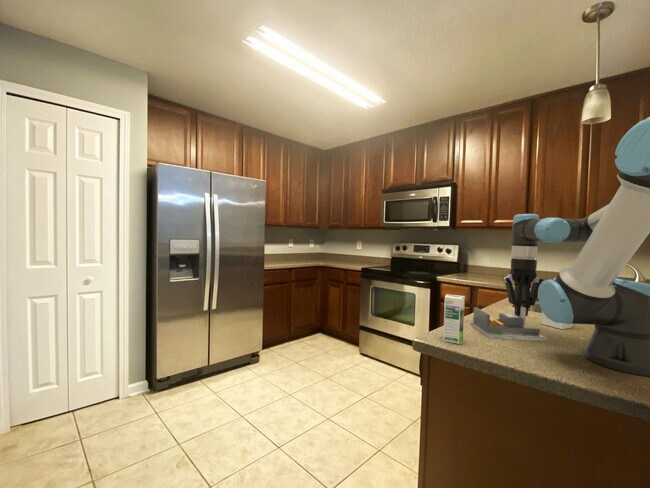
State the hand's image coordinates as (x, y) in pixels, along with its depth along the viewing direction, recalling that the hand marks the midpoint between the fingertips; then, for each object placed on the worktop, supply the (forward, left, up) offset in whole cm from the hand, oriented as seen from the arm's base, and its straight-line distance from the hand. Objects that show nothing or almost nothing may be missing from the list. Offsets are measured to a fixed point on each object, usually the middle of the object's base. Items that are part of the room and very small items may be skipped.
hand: (520, 324), depth 103 cm
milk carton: (+12, -20, -3) cm, 23 cm away
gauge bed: (0, +5, -3) cm, 6 cm away
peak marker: (-2, +10, -1) cm, 10 cm away
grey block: (0, +3, -1) cm, 4 cm away
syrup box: (-11, +27, -3) cm, 30 cm away
